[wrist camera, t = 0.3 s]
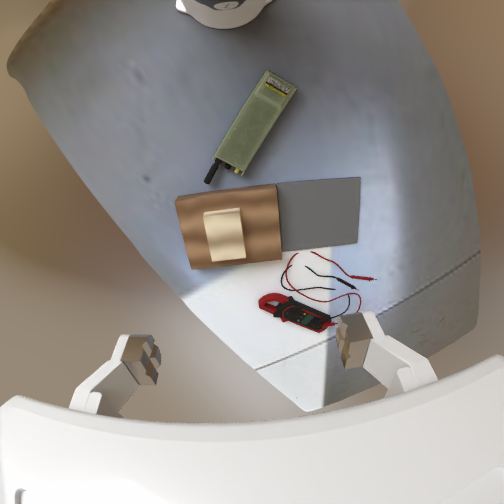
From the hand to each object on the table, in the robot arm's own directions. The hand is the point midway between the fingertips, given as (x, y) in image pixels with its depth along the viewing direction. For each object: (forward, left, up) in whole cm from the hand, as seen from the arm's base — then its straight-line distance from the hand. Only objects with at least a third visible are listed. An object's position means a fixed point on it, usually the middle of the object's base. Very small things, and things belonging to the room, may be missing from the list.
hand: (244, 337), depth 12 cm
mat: (+16, +15, -47) cm, 52 cm away
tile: (+16, -5, -43) cm, 47 cm away
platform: (+16, -4, -47) cm, 50 cm away
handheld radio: (-5, -1, -45) cm, 45 cm away
